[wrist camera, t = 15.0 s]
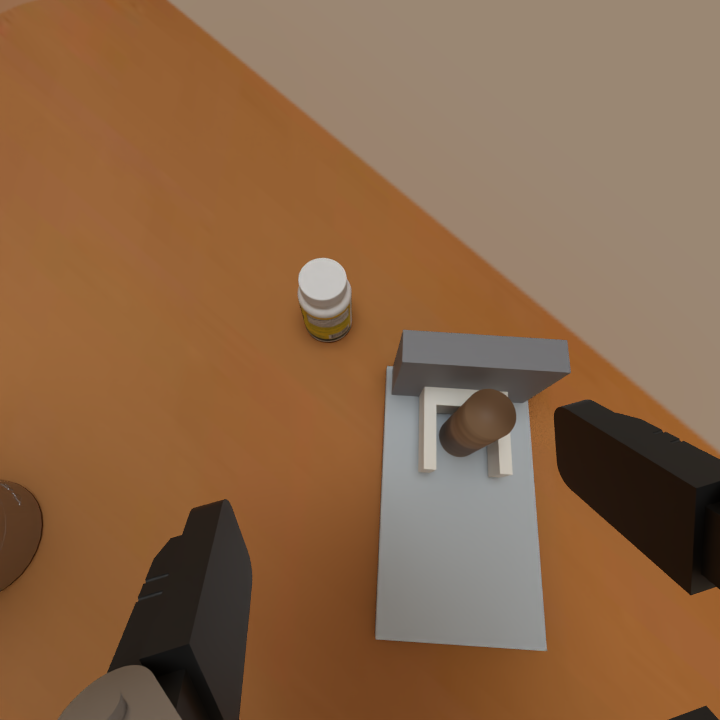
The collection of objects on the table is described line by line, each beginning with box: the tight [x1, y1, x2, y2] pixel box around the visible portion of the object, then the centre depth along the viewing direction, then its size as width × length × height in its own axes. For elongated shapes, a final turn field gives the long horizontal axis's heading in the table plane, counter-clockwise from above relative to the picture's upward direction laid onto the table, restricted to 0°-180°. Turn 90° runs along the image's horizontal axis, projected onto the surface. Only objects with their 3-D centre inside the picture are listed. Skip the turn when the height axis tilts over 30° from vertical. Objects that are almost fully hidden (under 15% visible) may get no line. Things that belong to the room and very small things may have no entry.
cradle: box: [418, 387, 513, 478], centre depth 35 cm, size 7×7×3 cm
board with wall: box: [375, 330, 571, 651], centre depth 32 cm, size 22×13×10 cm, turn 176°
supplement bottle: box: [298, 258, 352, 342], centre depth 38 cm, size 5×5×8 cm
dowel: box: [439, 389, 516, 457], centre depth 33 cm, size 4×4×9 cm
